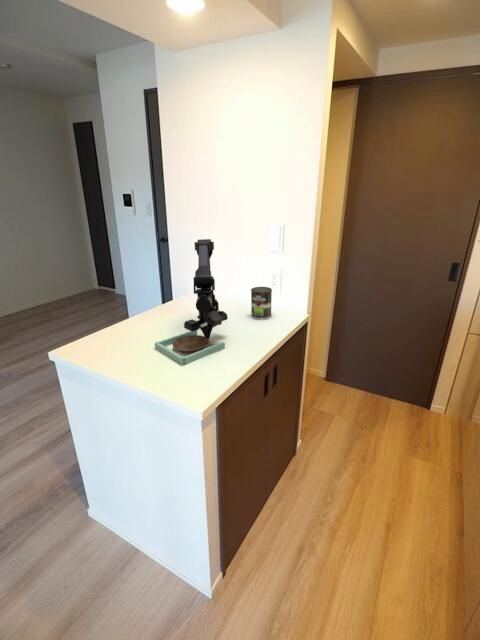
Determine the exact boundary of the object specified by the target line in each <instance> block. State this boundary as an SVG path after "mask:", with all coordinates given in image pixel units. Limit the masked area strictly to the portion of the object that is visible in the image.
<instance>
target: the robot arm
mask: <svg viewBox="0 0 480 640" xmlns="http://www.w3.org/2000/svg"><path fill="white" fill-rule="evenodd" d="M214 242H215V241H212V239H211V238H208V239H207V238H206V239H203V238H201V239H197V241H195V242H194V243H193V244H194V250H195V251H194V252H196V254H197V256H198V261H197V263H198V267H197V269H196V270H195V272H194V273H195V274H194V277H193V295H197V298H196V301H195V308H196V310H197V311H198V315H196V316H197V319H198V320H195V319H193V318H192V319H188V320H186V321H184V323H183V326H184V327H183V328H184V329H186V330H187V331H196V330H197V331H198V330H201V332H202V334H203V336H204V337H207V338H208V339H209V340H210V337H211V335H212V331H213V329H214V328H215V327H217V326H221V325H222V322H223V321H226V320H228V314H227V312H225V311H223V310H220V309H219V307H220V305H219V302H218V299H217V298H216V295H215V293H214V291H215V290H216V284H215V283H216V280H215V278H214V276H212V270H211V260H210V259H211V257H212V255H213V252H214V250H215V243H214Z"/></svg>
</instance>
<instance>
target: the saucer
mask: <svg viewBox="0 0 480 640" xmlns="http://www.w3.org/2000/svg"><path fill="white" fill-rule="evenodd" d="M209 343H210V338H209V339H208V338H207V337H205V336H204V335H199V334H197V335H190V336H184V337H181V338H179V339H177V340H175V341H174V342H173V344H172V347H173V348H174V349H175V350H176V351H177V352H179V353H181V354H185V355H187V354H188V355H190V354H193V353H195V352H198V351H200V350H203V349H206V348H207V347H208V345H209Z"/></svg>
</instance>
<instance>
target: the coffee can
mask: <svg viewBox="0 0 480 640" xmlns="http://www.w3.org/2000/svg"><path fill="white" fill-rule="evenodd" d="M272 292H273V289H272V288H271V287H267V286H255V287H252V288H250V295H251V296H250V297H251V307H250V308H251V311H250V312H251V315H250V317H252V319H255V320H259V321H260V320H262V321H263V320H268V319H271V317H272V299H273V298H272V295H273V294H272Z"/></svg>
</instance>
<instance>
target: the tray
mask: <svg viewBox="0 0 480 640" xmlns="http://www.w3.org/2000/svg"><path fill="white" fill-rule="evenodd" d="M190 335H198V330H196V331H190V330H187V331H186V332H183V333H180V334H177V335H173V336H171V337H168V338H164V339H162V340H159V341H156V342H154V348H155V350H157V351H159V352H160V353H162V354H164V355H165V356H167V357H169V358H171V360H173V361H175V362H176V363H178V364H180V365H181V366H185V365H188V364H190V363H193V362H195V361H197V360H199V359H202V358H204V357H207V356H210V355H211V354H214V353H216V352H219V351H222V350H224V349H225V348H226V345H225V344H226V342H224V341H222V342H218V343H216V344H214V345H211V346H209V347H208V346H207V347H206V348H204V349H203V350H200V351H198V352H195V353H193V354H188V355H186V356H182V355H180V354H178V353H177V352H175V351H173V350H171V348H168V347H167V346H170V345H173V342H174V341H175V340H177V339H179V338H181V337H184V336H190Z"/></svg>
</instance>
